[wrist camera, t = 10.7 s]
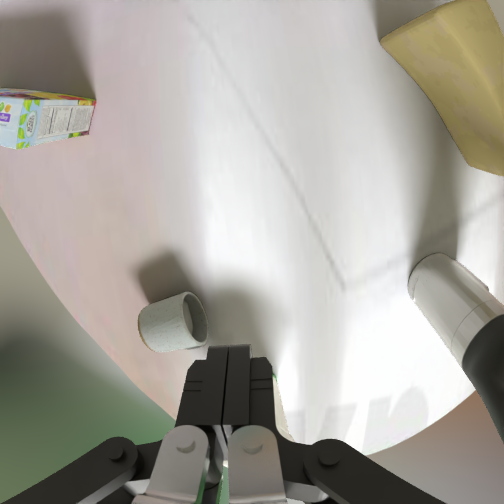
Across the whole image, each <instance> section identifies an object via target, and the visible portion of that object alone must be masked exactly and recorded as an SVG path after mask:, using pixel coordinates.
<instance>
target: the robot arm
mask: <svg viewBox="0 0 504 504" xmlns="http://www.w3.org/2000/svg"><path fill="white" fill-rule="evenodd" d="M408 291H409V295H410V297H411V299H412V300H413V301H414V302H415V304H416V305H417V306H418V308H419V309H420V310H421V312H422V313H423V315H424V316H425V317H426V319H427V320H428V321H429V323H430V324H431V325H432V327H433V328H434V329H435V331H436V332H437V333H438V335H439V336H440V338H441V339H442V340H443V342H444V343H445V345H446V346H447V348H448V349H449V350H450V352H451V353H452V355H453V356H454V357H455V359H456V360H457V362H458V363H459V365H460V366H461V368H462V369H463V371H464V372H465V374H466V375H467V377H468V378H469V380H470V381H471V382H472V384H473V386H474V387H475V389H476V390H477V392H478V394H479V395H480V397H481V398H482V400H483V402H484V404H485V405H486V408H487V409H488V411H489V413H490V416H491V418H492V420H493V422H494V424H495V426H496V428H497V431H498V433H499V435H500V437H501V439H502V441H503V443H504V305H503V304H502V303H500V302H499V301H498V300H497V299H496V298H495V297H494V296H493V295H492V294H491V293H490V292H489V289H488V287H487V286H486V285H485V284H484V283H483V282H482V281H481V280H480V279H478V278H477V277H476V276H475V275H474V274H473V273H471V272H470V271H469V270H468V269H467V268H465V267H464V266H463V265H462V264H461V263H459V262H458V261H457V260H452V259H451V258H450V257H448V256H447V255H445V254H441V253H436V254H432V255H429V256H427V257H426V258H424V259H423V260H422V261H420V262H419V264H418V265H417V266H416V267H415V269H414V270H413V272H412V274H411V276H410V279H409V283H408ZM223 461H228V477H229V504H288V503H287V500H286V498H290V499H295V500H300V501H303V502H304V503H305V504H446V503H444V502H442V501H441V500H439V499H437V498H435V497H433V496H431V495H429V494H427V493H425V492H424V491H422V490H420V489H418V488H417V487H415V486H413V485H412V484H410V483H408V482H406V481H405V480H403V479H401V478H399V477H398V476H396V475H395V474H393V473H391V472H390V471H388V470H386V469H385V468H383V467H382V466H380V465H378V464H377V463H375V462H373V461H372V460H371V459H369V458H367V457H366V456H364V455H363V454H361V453H360V452H358V451H357V450H355V449H354V448H352V447H351V446H349V445H348V444H347V443H345V442H343V441H340V440H337V439H324V440H320V441H318V442H316V443H314V444H313V445H306V444H301V443H296V442H292V441H290V440H288V439H286V438H284V437H283V436H282V435H281V434H280V433H279V431H278V430H277V427H276V420H275V404H274V388H273V373H272V366H271V364H270V363H269V361H268V360H267V358H266V357H260V358H252V351H251V344H242V345H230V346H229V345H222V346H209V348H208V353H207V358H206V360H195V361H194V363H193V364H192V365H191V366H190V368H189V369H188V371H187V376H186V380H185V384H184V389H183V393H182V397H181V402H180V406H179V411H178V415H177V420H176V424H175V427H174V428H173V429H171V430H170V431H169V432H168V433H167V434H166V435H165V436H164V438H163V439H162V440H160V441H158V442H153V443H148V444H142V445H135V444H134V443H133V442H132V441H131V440H129V439H127V438H124V437H113V438H110V439H107V440H106V441H104V442H103V443H101V444H100V445H98V446H97V447H95V448H94V449H92V450H90V451H89V452H87V453H86V454H84V455H83V456H81V457H80V458H78V459H77V460H75V461H73V462H72V463H70V464H69V465H67V466H65V467H64V468H62V469H61V470H59V471H57V472H56V473H54V474H52V475H51V476H49V477H47V478H46V479H44V480H42V481H41V482H39V483H37V484H35V485H34V486H32V487H30V488H28V489H27V490H25V491H23V492H22V493H20V494H18V495H16V496H14V497H12V498H10V499H9V500H7V501H5V502H3V503H1V504H219V502H220V496H221V490H222V483H223V475H222V473H223Z"/></svg>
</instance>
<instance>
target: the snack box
mask: <svg viewBox="0 0 504 504" xmlns="http://www.w3.org/2000/svg"><path fill="white" fill-rule="evenodd" d="M95 104H96V100H94V99H89V98H83V97H78V96H72V95H66V94H59V93H52V92H45V91H36V90H26V89H13V88H0V145H1V146H5V147H8V148H12V149H16V150H19V149H22V148H26V147H30V146H34V145H38V144H43V143H47V142H51V141H56V140H61V139H67V138H71V137H77V136H84V135H88V134H89V128H90V124H91V120H92V116H93V112H94V108H95Z"/></svg>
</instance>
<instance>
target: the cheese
mask: <svg viewBox="0 0 504 504" xmlns="http://www.w3.org/2000/svg"><path fill="white" fill-rule="evenodd" d="M380 44H381V46H382V47H383V48H384V49H385V50H386V51H387V52H388V53H389V54H390V55H391V56H392V57H393V58H394V59H395V60H396V61H397V62H398V63H399V64H400V65H401V66H402V67H403V68H404V69H405V70H406V72H407V73H408V74H409V75H410V76H411V77H412V78H413V79H414V80H415V82H416V83H417V84H418V85H419V86H420V88H421V89H422V90H423V91H424V93H425V94H426V95H427V96H428V98H429V99H430V101H431V102H432V104H433V105H434V107H435V108H436V110H437V111H438V113H439V115H440V116H441V118H442V120H443V122H444V124H445V125H446V127H447V129H448V131H449V133H450V134H451V136H452V138H453V139H454V141H455V143H456V145H457V146H458V148H459V150H460V151H461V153H462V155H463V157H464V158H465V160H466V162H467V163H468V164H469V165H470V166H471V167H474V168H477V169H480V170H483V171H486V172H489V173H492V174H496V175H499V176H504V37H503V34H502V32H501V29H500V27H499V25H498V22H497V20H496V18H495V16H494V14H493V12H492V10H491V8H490V6H489V4H488V2H487V1H486V0H454V1H452V2H449V3H446V4H443V5H441V6H439V7H436V8H434V9H432V10H430V11H429V12H427V13H425V14H423V15H421V16H419V17H417V18H415V19H414V20H412V21H410V22H408V23H406V24H405V25H403V26H401V27H399V28H398V29H396V30H394V31H393V32H391V33H389V34H387V35H386V36H384V37H383V38H382V39H381V40H380Z"/></svg>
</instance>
